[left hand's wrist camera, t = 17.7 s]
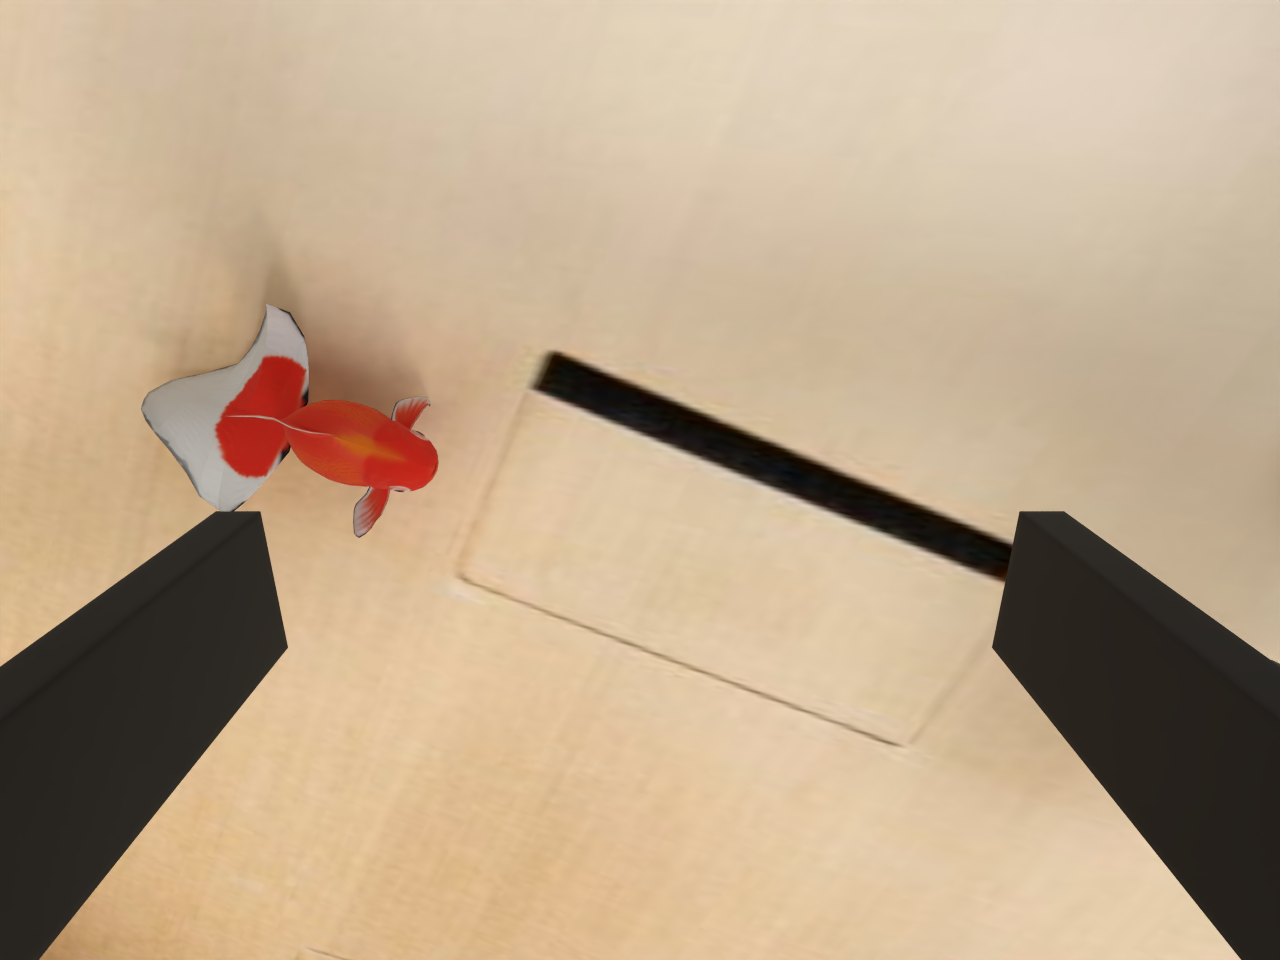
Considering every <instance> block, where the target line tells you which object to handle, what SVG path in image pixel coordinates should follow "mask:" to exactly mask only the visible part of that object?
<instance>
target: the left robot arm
mask: <svg viewBox="0 0 1280 960" xmlns="http://www.w3.org/2000/svg"><path fill="white" fill-rule="evenodd" d="M287 648H288V646H287V641H286V636H285V631H284V626H283V621H282V616H281V611H280V606H279V601H278V596H277V591H276V586H275V581H274V576H273V572H272V567H271V562H270V557H269V552H268V547H267V542H266V537H265V532H264V527H263V522H262V517H261V512H260V511H216V512H215V513H213V514H212V515H210V516H209V517H208V518H206V519H205V520H203V521H202V522H201V523H199V524H198V525H197V526H195V527H194V528H192V529H191V530H190V531H188V532H187V533H185V534H184V535H183V536H181V537H180V538H178V539H177V540H176V541H174V542H173V543H172V544H170V545H169V546H167V547H166V548H165V549H163V550H162V551H160V552H159V553H158V554H156V555H155V556H153V557H152V558H151V559H149V560H148V561H147V562H145V563H144V564H142V565H141V566H140V567H138V568H137V569H135V570H134V571H133V572H131V573H130V574H128V575H127V576H126V577H124V578H123V579H122V580H120V581H119V582H117V583H116V584H115V585H113V586H112V587H110V588H109V589H108V590H106V591H105V592H103V593H102V594H101V595H99V596H98V597H96V598H95V599H94V600H92V601H91V602H90V603H88V604H87V605H85V606H84V607H83V608H81V609H80V610H78V611H77V612H76V613H74V614H73V615H71V616H70V617H69V618H67V619H66V620H65V621H63V622H62V623H60V624H59V625H58V626H56V627H55V628H53V629H52V630H51V631H49V632H48V633H46V634H45V635H44V636H42V637H41V638H40V639H38V640H37V641H35V642H34V643H33V644H31V645H30V646H28V647H27V648H26V649H24V650H23V651H21V652H20V653H19V654H17V655H16V656H15V657H13V658H12V659H10V660H9V661H8V662H6V663H5V664H3V665H2V666H1V667H0V960H39V959H40V958H41V956H42V955H43V954H44V953H45V951H46V950H47V949H48V947H49V946H50V945H51V944H52V942H53V941H54V940H55V939H56V937H57V936H58V935H59V934H60V932H61V931H62V930H63V929H64V927H65V926H66V925H67V924H68V922H69V921H70V920H71V919H72V917H73V916H74V915H75V914H76V912H77V911H78V910H79V909H80V907H81V906H82V905H83V904H84V902H85V901H86V900H87V899H88V897H89V896H90V895H91V894H92V892H93V891H94V890H95V889H96V887H97V886H98V885H99V884H100V882H101V881H102V880H103V879H104V877H105V876H106V875H107V874H108V872H109V871H110V870H111V869H112V867H113V866H114V865H115V864H116V862H117V861H118V860H119V859H120V857H121V856H122V855H123V854H124V852H125V851H126V850H127V849H128V847H129V846H130V845H131V843H132V842H133V841H134V840H135V838H136V837H137V836H138V835H139V833H140V832H141V831H142V830H143V828H144V827H145V826H146V825H147V823H148V822H149V821H150V820H151V818H152V817H153V816H154V815H155V813H156V812H157V811H158V810H159V808H160V807H161V806H162V805H163V803H164V802H165V801H166V800H167V798H168V797H169V796H170V795H171V793H172V792H173V791H174V790H175V788H176V787H177V786H178V785H179V783H180V782H181V781H182V780H183V778H184V777H185V776H186V775H187V773H188V772H189V771H190V770H191V768H192V767H193V766H194V765H195V763H196V762H197V761H198V760H199V758H200V757H201V756H202V755H203V753H204V752H205V751H206V750H207V748H208V747H209V746H210V744H211V743H212V742H213V741H214V739H215V738H216V737H217V736H218V734H219V733H220V732H221V731H222V729H223V728H224V727H225V726H226V724H227V723H228V722H229V721H230V719H231V718H232V717H233V716H234V714H235V713H236V712H237V711H238V709H239V708H240V707H241V706H242V704H243V703H244V702H245V701H246V699H247V698H248V697H249V696H250V694H251V693H252V692H253V691H254V689H255V688H256V687H257V686H258V684H259V683H260V682H261V681H262V679H263V678H264V677H265V676H266V674H267V673H268V672H269V671H270V669H271V668H272V667H273V666H274V664H275V663H276V662H277V661H278V659H279V658H280V657H281V656H282V654H283V653H284V652H285V651H286V649H287ZM992 648H993V649H994V651H995V652H996V653H997V654H998V656H999V657H1000V658H1001V659H1002V661H1003V662H1004V663H1005V664H1006V666H1007V667H1008V668H1009V669H1010V671H1011V672H1012V673H1013V674H1014V676H1015V677H1016V678H1017V679H1018V681H1019V682H1020V683H1021V684H1022V686H1023V687H1024V688H1025V689H1026V691H1027V692H1028V693H1029V694H1030V696H1031V697H1032V698H1033V699H1034V701H1035V702H1036V703H1037V704H1038V706H1039V707H1040V708H1041V709H1042V711H1043V712H1044V713H1045V714H1046V716H1047V717H1048V718H1049V719H1050V721H1051V722H1052V723H1053V724H1054V726H1055V727H1056V728H1057V729H1058V731H1059V732H1060V733H1061V734H1062V736H1063V737H1064V738H1065V739H1066V741H1067V742H1068V743H1069V744H1070V746H1071V747H1072V748H1073V750H1074V751H1075V752H1076V753H1077V755H1078V756H1079V757H1080V758H1081V760H1082V761H1083V762H1084V763H1085V765H1086V766H1087V767H1088V768H1089V770H1090V771H1091V772H1092V773H1093V775H1094V776H1095V777H1096V778H1097V780H1098V781H1099V782H1100V783H1101V785H1102V786H1103V787H1104V788H1105V790H1106V791H1107V792H1108V793H1109V795H1110V796H1111V797H1112V798H1113V800H1114V801H1115V802H1116V803H1117V805H1118V806H1119V807H1120V808H1121V810H1122V811H1123V812H1124V813H1125V815H1126V816H1127V817H1128V818H1129V820H1130V821H1131V822H1132V823H1133V825H1134V826H1135V827H1136V828H1137V830H1138V831H1139V832H1140V833H1141V835H1142V836H1143V837H1144V838H1145V840H1146V841H1147V842H1148V843H1149V845H1150V846H1151V847H1152V849H1153V850H1154V851H1155V852H1156V854H1157V855H1158V856H1159V857H1160V859H1161V860H1162V861H1163V862H1164V864H1165V865H1166V866H1167V867H1168V869H1169V870H1170V871H1171V872H1172V874H1173V875H1174V876H1175V877H1176V879H1177V880H1178V881H1179V882H1180V884H1181V885H1182V886H1183V887H1184V889H1185V890H1186V891H1187V892H1188V894H1189V895H1190V896H1191V897H1192V899H1193V900H1194V901H1195V902H1196V904H1197V905H1198V906H1199V907H1200V909H1201V910H1202V911H1203V912H1204V914H1205V915H1206V916H1207V917H1208V919H1209V920H1210V921H1211V922H1212V924H1213V925H1214V926H1215V927H1216V929H1217V930H1218V931H1219V932H1220V934H1221V935H1222V936H1223V937H1224V939H1225V940H1226V941H1227V942H1228V944H1229V945H1230V946H1231V947H1232V949H1233V950H1234V951H1235V953H1236V954H1237V955H1238V956H1239V958H1240V959H1241V960H1280V664H1279V663H1277V662H1275V661H1273V660H1270V659H1268V658H1267V657H1265V656H1264V655H1263V654H1261V653H1260V652H1259V651H1257V650H1256V649H1254V648H1253V647H1252V646H1250V645H1249V644H1247V643H1246V642H1245V641H1243V640H1242V639H1240V638H1239V637H1238V636H1236V635H1235V634H1234V633H1232V632H1231V631H1229V630H1228V629H1227V628H1225V627H1224V626H1222V625H1221V624H1220V623H1218V622H1217V621H1215V620H1214V619H1213V618H1211V617H1210V616H1209V615H1207V614H1206V613H1204V612H1203V611H1202V610H1200V609H1199V608H1197V607H1196V606H1195V605H1193V604H1192V603H1190V602H1189V601H1188V600H1186V599H1185V598H1183V597H1182V596H1181V595H1179V594H1178V593H1177V592H1175V591H1174V590H1172V589H1171V588H1170V587H1168V586H1167V585H1165V584H1164V583H1163V582H1161V581H1160V580H1158V579H1157V578H1156V577H1154V576H1153V575H1152V574H1150V573H1149V572H1147V571H1146V570H1145V569H1143V568H1142V567H1140V566H1139V565H1138V564H1136V563H1135V562H1133V561H1132V560H1131V559H1129V558H1128V557H1127V556H1125V555H1124V554H1122V553H1121V552H1120V551H1118V550H1117V549H1115V548H1114V547H1113V546H1111V545H1110V544H1108V543H1107V542H1106V541H1104V540H1103V539H1102V538H1100V537H1099V536H1097V535H1096V534H1095V533H1093V532H1092V531H1090V530H1089V529H1088V528H1086V527H1085V526H1083V525H1082V524H1081V523H1079V522H1078V521H1077V520H1075V519H1074V518H1072V517H1071V516H1070V515H1068V514H1067V513H1065V512H1064V511H1020V512H1019V517H1018V522H1017V527H1016V532H1015V537H1014V542H1013V547H1012V552H1011V557H1010V562H1009V567H1008V572H1007V576H1006V581H1005V586H1004V591H1003V596H1002V601H1001V606H1000V611H999V616H998V621H997V626H996V631H995V636H994V641H993V646H992Z"/></svg>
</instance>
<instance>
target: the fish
mask: <svg viewBox="0 0 1280 960" xmlns="http://www.w3.org/2000/svg"><path fill="white" fill-rule="evenodd" d="M266 307H267V311H266V314H265V317H264V320H263V323H262V326H261V329H260V332H259V333H258V335H257V337H256V339H255V341H254V343H253V345H252V347H251V349H250V350H249V351H248V352H247V354H246V355H245V356H244V357H243V358H242V360H241V361H240V362H239V363H238V364H236V365H232V366H229V367H225V368H221V369H218V370H215V371H211V372H208V373H205V374H199V375H194V376H189V377H184V378H180V379H176V380H172V381H169V382H167V383H165V384H163V385H162V386H160V387H158V388H156V389H154V390H152V391H150V392H149V393H148V394H147V396H146V397H145V399H144V401H143V404H142V407H141V410H142V413H143V415H144V418H145V420H146V422H147V423H148V424H149V426H150V427H151V428H152V430H153V431H154V432H155V434H156V435H157V436H158V437H159V438H160V440H161V441H162V442H163V443H164V444H165V446H166V447H167V448H168V449H169V450H170V451H171V453H172V454H173V456H174V457H175V458H176V460H177V461H178V462H179V464H180V465H181V466H182V468H183V469H184V470H185V472H186V473H187V475H188V476H189V478H190V480H191V482H192V484H193V485H194V487H195V489H196V491H197V493H198V494H199V496H200V497H201V498H203V499H204V500H206V501H207V502H209V503H210V504H212V505H213V506H214V507H216V508H217V509H219V510H221V511H235V510H236V509H237V508H238V507H240V506H241V505H242V504H243V503H244V502H245V501H246V500H247V499H248V498H249V497H250V496H252V495H253V494H254V493H255V492H256V491H257V490H258V488H259V487H260V486H261V485H262V484H263V483H264V482H265V480H266V479H267V478H268V477H269V476H270V475H271V473H272V472H273V471H274V470H275V468H276V467H277V466H278V465H279V464H280V462H281V461H282V460H283V459H284V458H285V456H286V455H287V454H288V453H289V451H290V447H291V448H292V449H293V451H294V453H295V454H296V455H297V457H298V458H299V459H300V460H301V462H303V463H304V464H305V465H306V466H307V467H309V468H310V469H312V470H313V471H315V472H317V473H318V474H320V475H322V476H324V477H326V478H327V479H330V480H332V481H335V482H339V483H342V484H347V485H355V486H370V487H369V489H368V491H367V493H366V494H365V495H364V496H363V497H362V498H361V499H360V500H359V501H358V502H357V503H356V505H355V508H354V518H353V525H354V534H355V535H356V536H357V537H359V538H360V537H361V536H363V535H365V534H366V533H367V532H368V531H369V530H370V529H371V528H372V526H373V525H374V523H375V522H376V520H377V519H378V518H379V517H380V516H381V515H382V513H383V510H384V508H385V506H386V504H387V501H388V497H389V493H390V489H393V490H395V491H398V492H406V491H414V490H417V489H420V488H423V487H424V486H425V485H427V484H428V483H429V482H430V481H431V480H432V479H433V477H434V475H435V474H436V472H437V468H438V455H437V451H436V449H435V448H434V446H433V445H432V443H431V442H430V441H429V440H428V439H427V438H426V437H425V436H424V435H423V434H422V433H420V432H418V431H412V430H411V428H412V426H413V425H414V423H415V421H416V420H417V418H418V417H419V416H420V414H421V413H422V411H423V410H424V408H425V407H426V406H427V405H429V406H430V402H429V399H428V397H412V398H408V399H403V400H400V401H398V402H397V403H396V405H395V407H394V410H393V413H392V418H391V420H390V419H389V418H388V417H386V416H385V415H383V414H382V413H380V412H379V411H377V410H375V409H372V408H370V407H367V406H364V405H361V404H358V403H353V402H348V401H339V400H324V401H320V402H316V403H313V404H310V405H307V403H308V388H309V366H308V356H307V350H306V344H305V339H304V335H303V334H302V332H301V330H300V329H299V327H298V325H297V324H296V322H295V320H294V318H293V317H292V315H291V313H290V312H287V311H285V310H282V309H279V308H277V307H274V306H271V305H269V304H266ZM306 405H307V406H306Z"/></svg>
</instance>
